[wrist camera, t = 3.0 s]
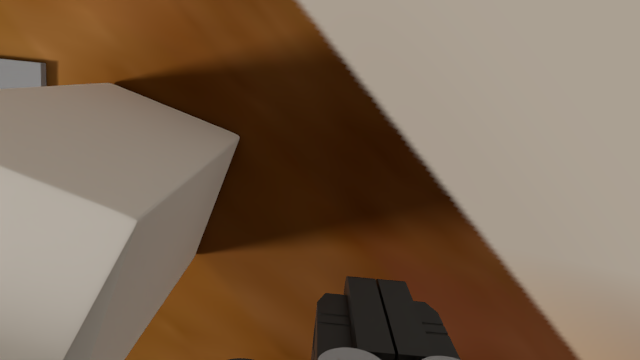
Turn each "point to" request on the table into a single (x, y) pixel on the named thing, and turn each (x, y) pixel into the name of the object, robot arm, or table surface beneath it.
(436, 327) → the robot arm
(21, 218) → the milk carton
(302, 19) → the table surface
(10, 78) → the mat
